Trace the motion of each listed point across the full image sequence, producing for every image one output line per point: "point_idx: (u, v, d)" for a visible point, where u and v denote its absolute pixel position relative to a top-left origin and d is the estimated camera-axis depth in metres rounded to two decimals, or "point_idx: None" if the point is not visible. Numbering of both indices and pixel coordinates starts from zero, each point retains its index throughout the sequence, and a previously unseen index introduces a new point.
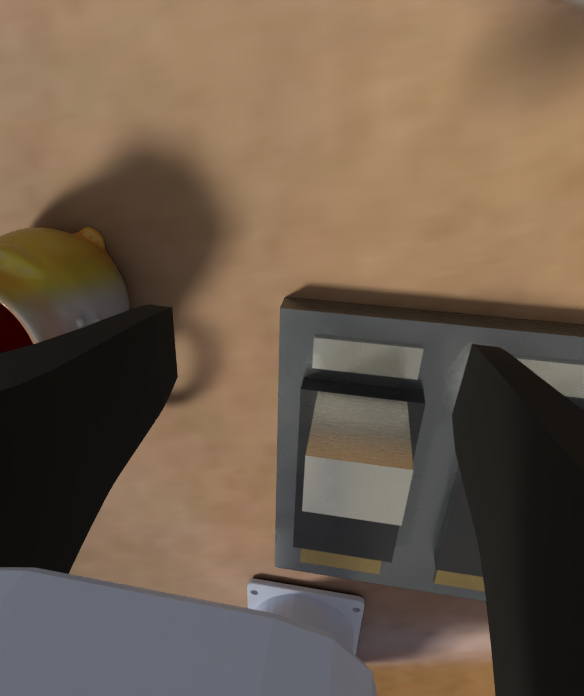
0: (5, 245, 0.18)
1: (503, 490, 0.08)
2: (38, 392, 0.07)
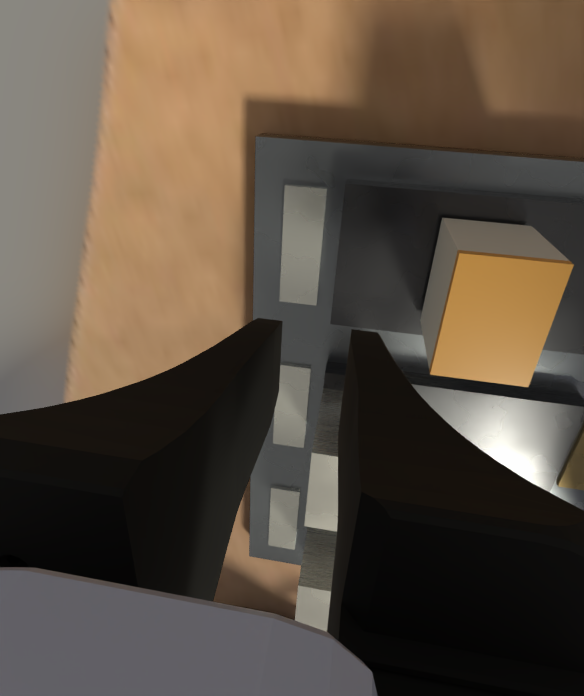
0: None
1: (346, 466, 0.08)
2: (214, 418, 0.07)
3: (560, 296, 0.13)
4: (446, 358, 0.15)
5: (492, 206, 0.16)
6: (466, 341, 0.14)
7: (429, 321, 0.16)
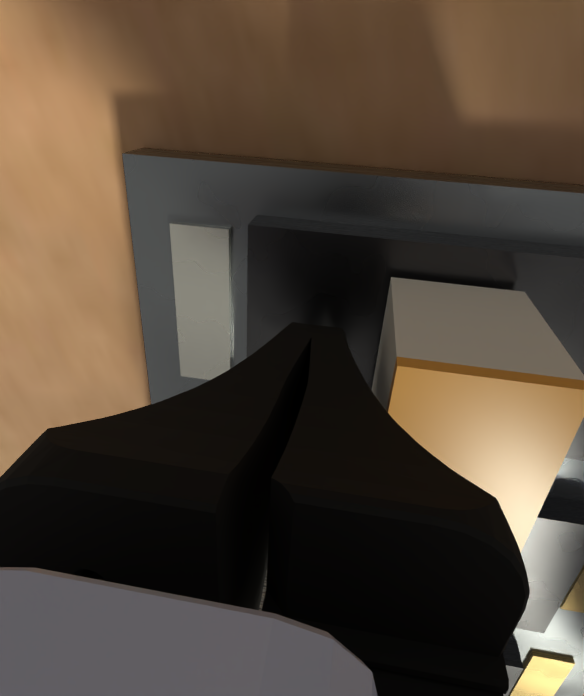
0: None
1: None
2: (270, 426, 0.07)
3: (570, 436, 0.08)
4: None
5: (465, 261, 0.11)
6: None
7: None
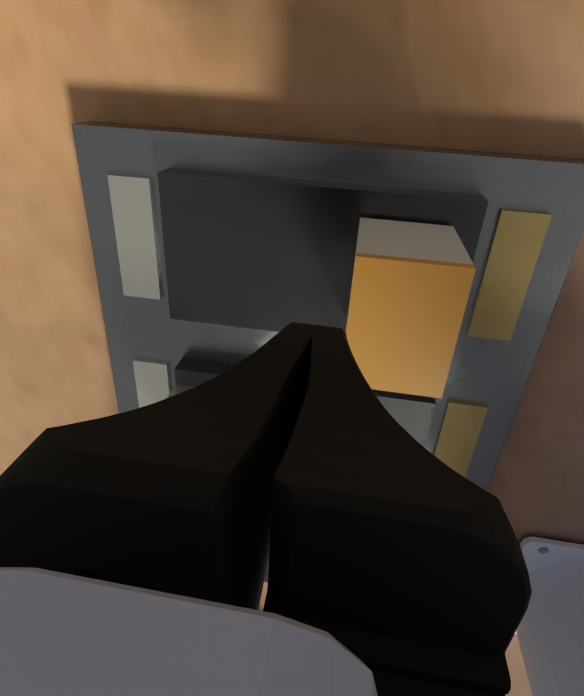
0: None
1: None
2: (269, 426, 0.07)
3: (465, 302, 0.12)
4: None
5: (305, 195, 0.16)
6: (372, 350, 0.13)
7: None
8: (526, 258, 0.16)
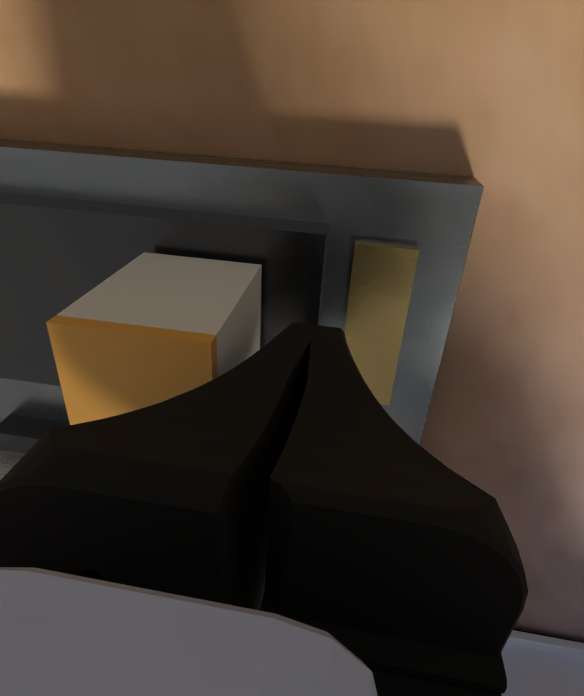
0: None
1: None
2: (272, 427, 0.07)
3: None
4: None
5: (95, 225, 0.12)
6: None
7: None
8: (394, 305, 0.12)
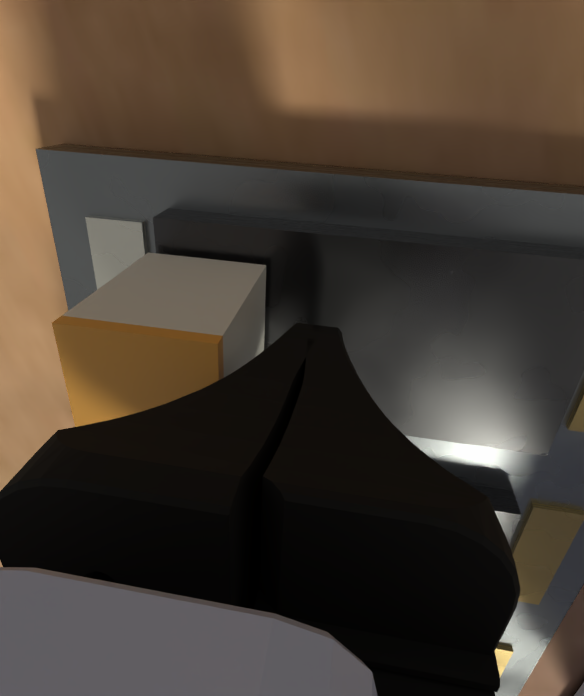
0: None
1: None
2: (278, 427, 0.07)
3: None
4: None
5: (360, 251, 0.11)
6: None
7: None
8: None
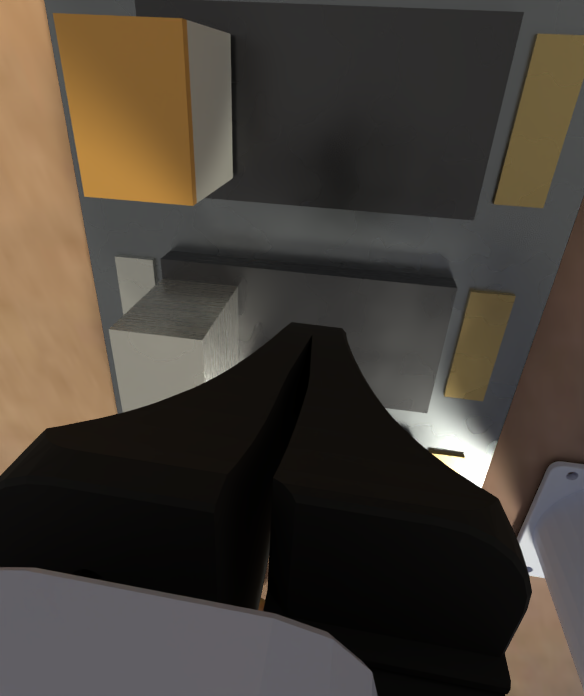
0: None
1: None
2: (269, 426, 0.07)
3: (186, 70, 0.11)
4: (93, 171, 0.12)
5: (307, 18, 0.13)
6: (105, 144, 0.12)
7: None
8: (564, 97, 0.14)
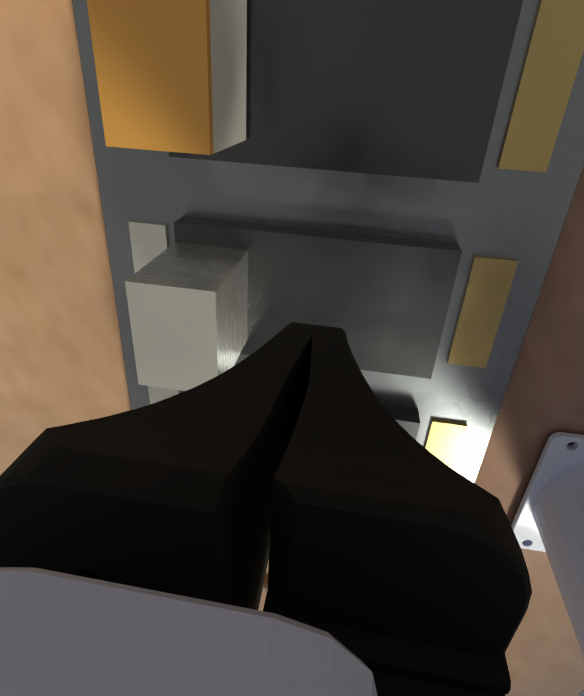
0: None
1: None
2: (269, 426, 0.07)
3: (207, 19, 0.11)
4: (115, 121, 0.13)
5: None
6: (128, 94, 0.12)
7: None
8: (567, 61, 0.15)
